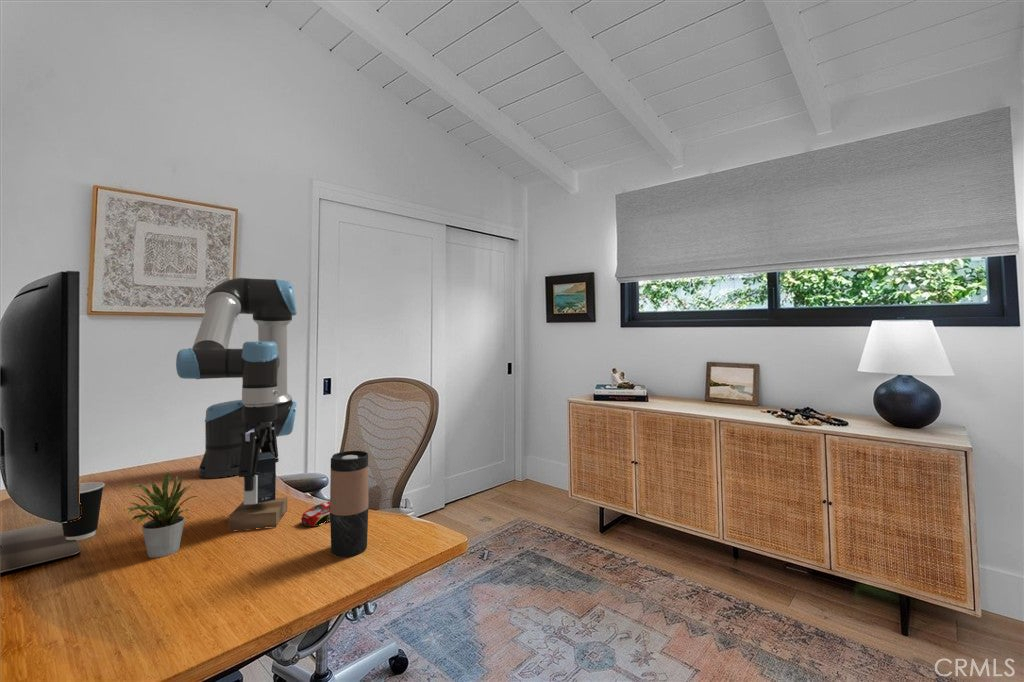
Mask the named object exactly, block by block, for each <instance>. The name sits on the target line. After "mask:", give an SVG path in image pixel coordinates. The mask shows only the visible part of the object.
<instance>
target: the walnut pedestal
mask: <svg viewBox="0 0 1024 682" xmlns="http://www.w3.org/2000/svg"><path fill="white" fill-rule="evenodd" d="M286 512H287V513H288V497H277V498H275V500H274V501H268V502H264V503H258V504H252V505H250V504H244V500H243V501H242V502H240V504H239V505H238V506H237V507H236V508H235V509H234V510H233V511H232V512H231V513H230V514H229V515H228V532H229V531H231V532H235V531H234V530H242V531H247V530H246V529H254V530H257V529H256V528H265V527H276V526H277V525H278V526H279V524H280V523H281V521H282V520H283V519H282V517H283V516H284V514H285V513H286ZM287 513H286V514H287ZM286 514H285V515H286ZM284 517H285V516H284ZM284 517H283V518H284ZM281 519H282V520H281ZM280 520H281V521H280ZM279 522H280V523H279ZM278 523H279V524H278ZM278 526H277V527H278ZM277 527H276V528H277Z"/></svg>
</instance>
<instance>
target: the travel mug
mask: <svg viewBox="0 0 1024 682" xmlns="http://www.w3.org/2000/svg"><path fill="white" fill-rule="evenodd" d="M329 485H330V486H329V488H330V490H329V492H330V493H329V494H330V495H329V498H330V499H329V502H330V522H329V523H330V548H331V550H330V552H331V554H332V555H333V556H335V557H338V558H350V557H351V558H352V557H355V556H358V555H360V554H362V553H364V552H365V551H366V549H367V548H368V534H369V532H368V529H369V454H368V452H366V451H362V450H346V451H340V452H337V453H334V454H333V455H332V456H331V458H330V484H329Z"/></svg>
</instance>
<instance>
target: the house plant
mask: <svg viewBox="0 0 1024 682" xmlns="http://www.w3.org/2000/svg"><path fill="white" fill-rule="evenodd" d="M173 476H174V473H171V474H170V475H169V472H168V471H166V472H165V474H164V476H163V480H162V487H161V489H160V488H159V487H158V485H157V484H156V483H155V482H154V481H152V482H151V486H152V487H151V488H152V491H153V492H151V491H150V490H149V489H148V488H147V487H145V486H143V485H142V484H139V483H137V482H136V483H135V482H131V484H133V485H136V486H137V487H139V488H141V490H142V491H143V492H144V494H146V496H147V497H146V496H144V495H142V494H139V493H135V492H132V495H133V494H136V495H135V497H136V498H139V499H140V500H141V501H143V502H144V503H145V504H144V505H141V504H139V503H136V502H135V503H134V502H130V504H132V505H134V506H131V507H129V508H126V509H124V510H128V512H127V515H129V514H130V515H131V512H132V511H136V510H141V512H143V513H144V514H143V513H140V512H138V514H136V515H135V516H133V517H132V518H131V519H130V521H129V522H130V523H131V522H132V521H134V520H136V519H138V520H137V523H136V524H138V523H140V522H141V521H143V520H144V519H146V518H148V519H149V521H147V522H145V523H144V524H142V526H141V529H142V535H143V538H144V543H145V548H146V552H147V556H148V557H149V558H152V559H153V558H154V559H157V558H163V557H167V556H170V555H172V554H175V553H176V552H178V551H179V550H180V545H181V540H182V535H183V531H184V525H185V521H186V518H185V516H183V515H180V514H182V513H183V512H185V511H186V512H187V513H189V508H187V509H184V510H180V509H181V505H183V503H186V501H188V500H189V499H192V498H195V497H199V496H198V495H193V496H192V495H191V496H190V497H187V498H186V499H184V500H183V501H181V503H180V504H179V505H178V503H179V500H181V498H182V496H183V495H184V494H185V493H186V491H187V490H189V488H190V487H191V486H192V485H193V484H194V482H192V483H190V485H189V486H186V487H184V488H183V489H182V490H181V487H182V482H183V477H181V478H180V480H179V479H178V478H179V476H178V475H176V477H175V480H174V482H173V485H172V486H173V487H172V489H171V492H170V495H169V492H168V491H169V483H170V480H171V479H172V477H173ZM178 481H179V482H178ZM124 483H125V484H126V483H127V484H130V482H125V481H124ZM123 494H124V495H125V494H126V492H122V493H119V495H123ZM138 495H139V496H138ZM126 497H128V495H127V496H125V498H126ZM142 497H144V498H145V499H146V500H148V501H150V502H151V503H152V504H149V503H148V502H147V501H146V500H145V499H144V498H142ZM148 497H149V498H148ZM148 511H149V512H148ZM157 512H158V513H157Z"/></svg>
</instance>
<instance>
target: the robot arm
mask: <svg viewBox="0 0 1024 682" xmlns="http://www.w3.org/2000/svg"><path fill="white" fill-rule="evenodd" d="M203 308H204V310H205V312H204V313H203V318H202V320H201V322H200V325H199V328H198V331H197V334H196V337H195V340H194V343H193V345H192V348H191V347H189V348H182V349H180V350H178V352H177V353H176V357H175V358H176V359H175V360H176V361H175V366H176V374H177V375H178V377H179V378H180V379H184V380H185V379H188V380H189V379H192V380H193V379H195V380H204V379H229V378H230V379H231V378H235V379H237V378H242V379H241V380H242V385H241V399H236V400H229V401H224V402H219V403H215V404H212V405H210V406H208V407H207V409H206V411H205V419H204V424H205V425H204V426H205V429H204V431H205V442H204V443H205V450H204V454H203V457H202V460H201V462H200V465H199V467H198V476H199V477H200V478H203V477H204V478H205V479H220V478H219V477H223V478H228V477H227V476H230V477H234V476H233V475H235V476H238V477H239V478H243V501H244V504H257V497H258V475H255V474H256V469H257V464H258V459H259V454H260V452H270V453H271V454H272V455H274V456H275V457H276V463H279V451H278V440H277V439H278V437H282V436H289V435H291V433H292V432H293V430H294V425H295V419H296V412H297V402H296V401H293V396H291V394H289V393H288V325H289V324H290V323H291V322H292V321H293V316H296V315H297V305H296V298H295V291H294V286H293V284H292V282H291V281H289V280H284V279H283V280H282V279H273V278H272V279H271V278H270V279H269V278H267V279H266V278H249V277H248V278H246V277H236V278H232V279H228V280H225V281H223V282H221V283H219V284H218V285H216V286H215V287H213V288H212V289H211V290H210V291H209V292H208V294H207V295H206V297H205V299H204V303H203ZM239 315H252V320H253V322H254V323H256V324H257V333H258V336H257V337H258V339H257V341H244V342H243V344H242V348H228V347H229V344H230V339H231V336H232V331H233V328H234V324H235V318H237V317H238V316H239ZM238 474H239V475H238ZM204 478H203V479H204Z"/></svg>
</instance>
